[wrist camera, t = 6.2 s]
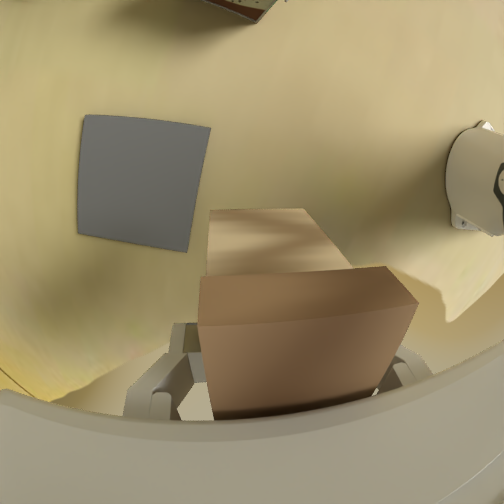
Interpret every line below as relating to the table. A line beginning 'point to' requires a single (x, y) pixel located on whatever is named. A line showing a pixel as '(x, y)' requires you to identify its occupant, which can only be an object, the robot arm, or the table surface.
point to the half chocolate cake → (245, 7)
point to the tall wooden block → (292, 317)
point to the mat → (139, 179)
